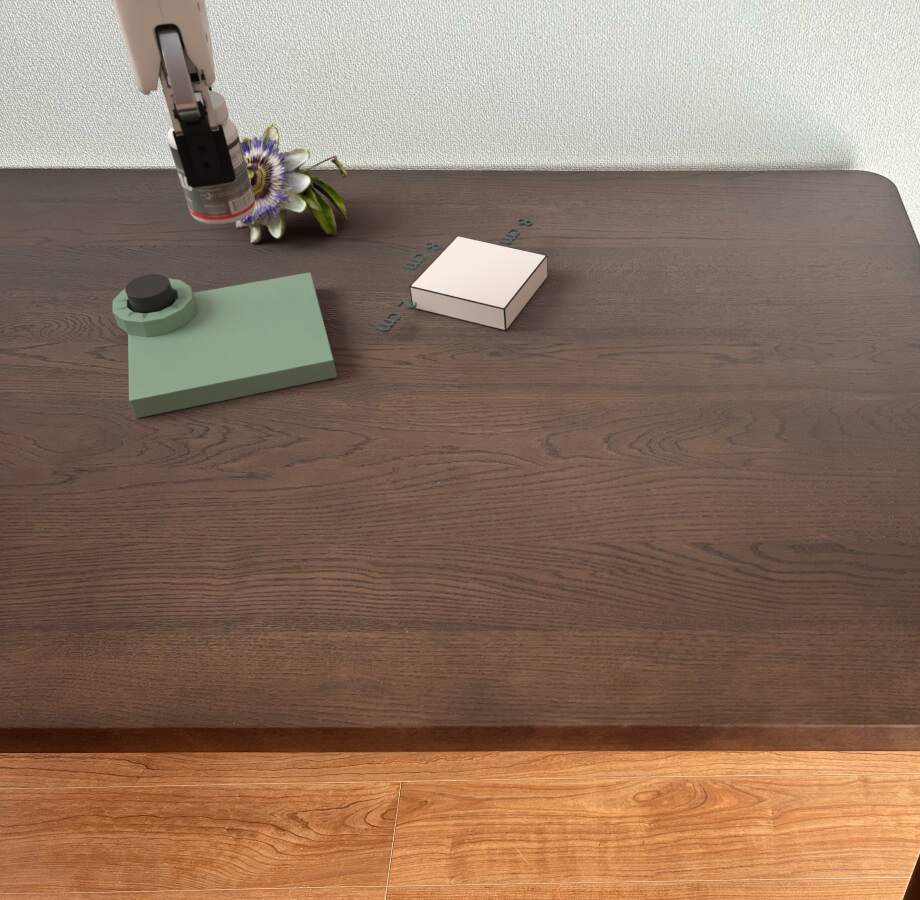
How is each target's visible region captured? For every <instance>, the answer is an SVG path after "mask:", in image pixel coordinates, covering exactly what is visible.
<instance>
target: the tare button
mask: <svg viewBox="0 0 920 900" xmlns="http://www.w3.org/2000/svg"><path fill="white" fill-rule="evenodd" d="M169 279H170V278H168V277H167V276H165V275H162V274H157V273H150V274H143V275H140V276H138V277H136V278H134V279H131V281H129V282H128V283H127V284H126V286H125V288H124V289H125V292H126V294H127V297H128V299H129V302H130V304H131V307H132V309H133V310H134V311H135V312H137V313H144V314H147V313H152V312H158V311H161V310H163V309H165V308H167V307H169V306H172V304H173V303H174V302H175V295H174V292H173V290H172V287H171V284H170V281H169Z"/></svg>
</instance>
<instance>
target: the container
mask: <svg viewBox="0 0 920 900" xmlns="http://www.w3.org/2000/svg"><path fill="white" fill-rule="evenodd" d="M533 221H534V220H532V219H526V218H525V217H520V218H518V219H517V220H516V224H517V226H519V227H521V226H525V227H527V228H529V227H530V228H531V227H532V226H533V225H534V222H533ZM514 232H516V234H513V233H514ZM519 236H521V230H520V229H519V228H515V227H514V228H513V227H511V228H509V229H508V231H507V232H506V233H505V236H502V237H501V238H502V240H499V241H498V243H493V242H489V241H484V240H480V239H475V238H470V237H467V236H461V235H456V236H455V237H454V238H453V240H451V242H449V244H448V245H447V246H446V247H445V248H444V249H442V245H441V243H435V242H434V241H427V242H425V243H424V249H425V250H432V251H435V252H437V251H441V249H442V251H441V252H440V253H438V255H437V256H436V257H435V259H433V261H432V262H431V263H429V264H428V265H427V267H426V268H425V269H424V270H423V271H422V272H421V273H420V274H419V275H418V277H417V278H416V279H414V281H413V282H412V283H411V284H410V285H409V287H408V288H409V294H410V301H411V305H409V304H407V301H406V300H405V299H404V298H402V299H401V300H400V301H399V302H398V303H397V307H398V308H400V307H401V306H402V305H403V306H404V307H405V309H407V310H418V311H422V312H426V313H431V314H435V315H439V316H443V317H447V318H450V319H455V320H458V321H459V320H460V321H463V322H468V323H472V324H475V325H480V326H483V327H488V328H492V329H496V330H500V331H505V332H507V330H508V329H509V328H510V327H511V325H512V324H513V323H514V322H515V320H516V319H517V318H518V316H519V315H520V314H521V312H522V311H523V310H524V308H525V307H526V306H527V305H528V303H530V301H531V299H532V298H533V297H534V296H535V294H537V291H538V290H539V289H540V288H541V286H542V285H543V284H544V283H545V281H546V280H547V279H548V277H549V267H548V255H547V254H543V253H539V252H535V251H530V250H525V249H522V248H516V247H511V246H512V245H513V242H515V241H516V239H518V237H519ZM418 257H422V258H421V259H419V258H418ZM427 258H428V257H427V254H426V253H424V252H416V253H415V254H413V257H411V258H410V261H407V262H406V265H402V269H403V270H406V271H410V272H411V271H412V272H413V271H416V270H418V267H420V266H421V265H422V264H423V263H424V262H425V261H426V260H427ZM393 316H396V318H395V320H394V319H391V317H393ZM401 319H402V317H401V313H400V312H396V311H391V312H389V313H387V315H386V317H384V318H383V322H379V326H376V327H375V328H374V329H375V331H377V332H379V333H380V332H381V333H389V332H390V331H391V329H392V328H395V325H396V324H397V323H398V322H399V321H400V320H401ZM389 323H390V324H389Z"/></svg>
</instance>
